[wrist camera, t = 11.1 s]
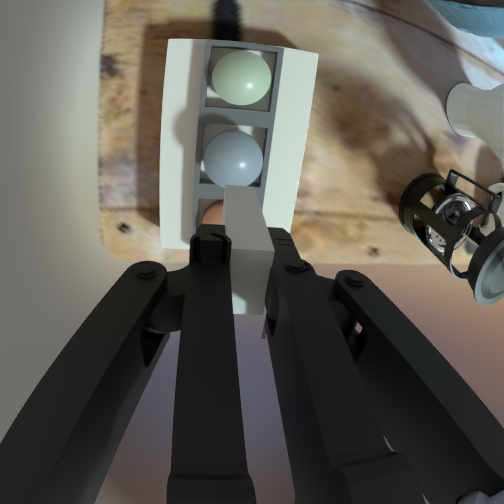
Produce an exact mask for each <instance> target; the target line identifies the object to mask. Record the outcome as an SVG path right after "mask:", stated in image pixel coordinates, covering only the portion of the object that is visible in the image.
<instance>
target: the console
mask: <svg viewBox="0 0 504 504" xmlns="http://www.w3.org/2000/svg"><path fill="white" fill-rule="evenodd" d="M236 51H248V52H252V53H254V54H257V55H258V56H260V57H261V58H262V59H263V60H264V61H265V62H266V63H267V65H268V67H269V69H270V72H271V83H270V87H269V89H268V91H267V93H266V94H265V95H264V96H263V97H262V98H261V99H260V100H258V101H257V102H254V103H252V104H248V105H234V104H231V103H228V102H226V101H225V100H223V99H222V98H221V97H220V96H219V95H218V94H217V93H216V91H215V89H214V87H213V83H212V74H213V70H214V68H215V66H216V64H217V63H218V61H219V60H220V59H221V58H222V57H224V56H225V55H227V54H229V53H232V52H236ZM318 57H319V54H317V53H312V52H307V51H302V50H297V49H291V48H285V47H279V46H272V45H265V44H257V43H248V42H238V41H226V40H209V39H169V40H168V48H167V57H166V67H165V78H164V90H163V103H162V120H161V142H160V242H161V248H172V249H190V238H191V237H192V236H193V235H194V234H195V232H196V228H197V227H198V226H200V225H201V224H202V217H203V214H204V212H205V210H206V209H207V207H208V206H209V205H211V204H212V203H214V202H216V201H218V200H224V191H225V188H223V187H220V186H218V185H217V184H215V183H214V182H213V181H212V180H211V179H210V178H209V177H208V175H207V173H206V171H205V167H204V156H205V152H206V149H207V146H208V144H209V142H210V141H211V140H212V139H213V138H214V137H215V136H216V135H217V134H219V133H221V132H223V131H227V130H240V131H243V132H245V133H247V134H249V135H250V136H252V137H253V138H254V139H255V141H256V142H257V144H258V146H259V147H260V149H261V152H262V155H263V166H262V170H261V172H260V174H259V176H258V177H257V178H256V180H255V181H253V182H252V183H251V184H250V185H248V186H251V187H255V191H256V194H257V197H258V200H259V203H260V206H261V209H262V212H263V215H264V219H265V222H266V225H267V227H276V228H283V229H285V230H286V231H287V232H288V233H290V229H291V224H292V218H293V213H294V207H295V202H296V196H297V191H298V185H299V179H300V173H301V167H302V162H303V156H304V150H305V143H306V137H307V131H308V125H309V118H310V112H311V105H312V99H313V92H314V85H315V78H316V71H317V64H318Z"/></svg>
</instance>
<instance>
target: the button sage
mask: <svg viewBox="0 0 504 504" xmlns="http://www.w3.org/2000/svg"><path fill="white" fill-rule="evenodd" d="M212 83H213V87H214V89H215V91H216V93H217V94H218V95H219V96H220V97H221V98H222V99H223V100H225V101H226V102H228V103H231V104H234V105H248V104H252V103H254V102H257V101H258V100H260V99H261V98H262V97H263V96H264V95H265V94H266V93H267V91H268V89H269V87H270V83H271V72H270V69H269V67H268V65H267V63H266V62H265V61H264V60H263V59H262V58H261V57H260V56H258V55H257V54H254V53H252V52H248V51H236V52H232V53H229V54H227V55H225V56H224V57H222V58H221V59H220V60H219V61H218V63H217V64H216V66H215V68H214V70H213V74H212Z"/></svg>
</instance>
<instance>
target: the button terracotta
mask: <svg viewBox="0 0 504 504" xmlns="http://www.w3.org/2000/svg"><path fill="white" fill-rule="evenodd" d="M223 202H224V200H218V201H216V202H214V203H212V204H211V205H209V206H208V207H207V209H206V210H205V212H204V214H203V217H202V224H218V225H222V214H223Z"/></svg>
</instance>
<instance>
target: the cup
mask: <svg viewBox="0 0 504 504" xmlns="http://www.w3.org/2000/svg"><path fill="white" fill-rule="evenodd" d="M446 109H447V116H448V120H449V123H450V125H451V127H452V128H453V129H454V131H455V132H456V133H458V134H459V135H462V136H466V137H471V138H478V139H480V140H482V141H484V142H485V143H487V144H488V146H489V147H490V149H491V150H492V151H493V153H494V154H495V155H496V156H497V157H498V158H499V159H500V160H501V161H502V162H503V163H504V84H501V85H499V86H497V87H495V88H493V89H492V90H482V89H480V88H477V87H475V86H472V85H469V84H466V83H460V84H457V85H455V86H454V87H453V88H452V90H451V91H450V93H449V95H448V99H447V107H446Z"/></svg>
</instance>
